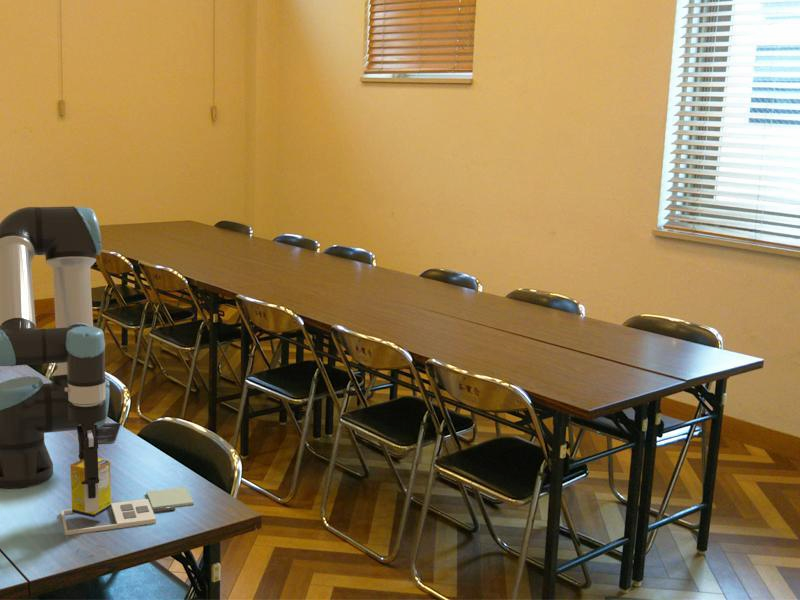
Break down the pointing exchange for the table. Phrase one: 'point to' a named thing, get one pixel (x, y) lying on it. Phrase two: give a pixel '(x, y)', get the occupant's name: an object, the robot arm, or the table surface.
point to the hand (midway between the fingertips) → (89, 502)
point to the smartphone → (108, 433)
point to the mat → (170, 497)
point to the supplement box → (78, 487)
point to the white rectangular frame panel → (123, 516)
